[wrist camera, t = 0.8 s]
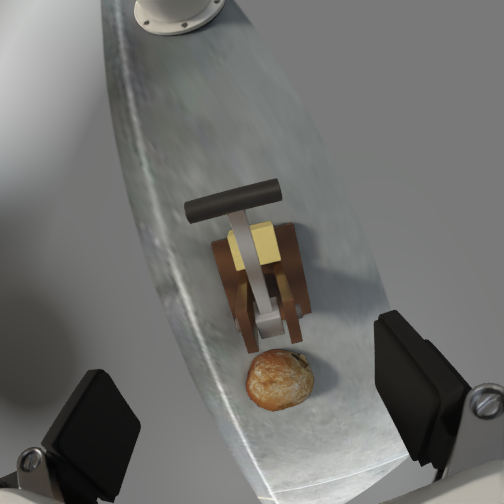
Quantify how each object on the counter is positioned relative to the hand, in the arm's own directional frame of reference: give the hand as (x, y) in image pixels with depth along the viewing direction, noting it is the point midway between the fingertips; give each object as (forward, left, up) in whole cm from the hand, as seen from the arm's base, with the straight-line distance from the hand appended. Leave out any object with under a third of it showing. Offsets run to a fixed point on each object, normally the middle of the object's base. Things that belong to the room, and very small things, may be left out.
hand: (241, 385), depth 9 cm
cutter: (+6, +1, -27) cm, 28 cm away
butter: (+1, +1, -26) cm, 26 cm away
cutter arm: (+1, 0, -15) cm, 15 cm away
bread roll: (+22, -1, -27) cm, 35 cm away
